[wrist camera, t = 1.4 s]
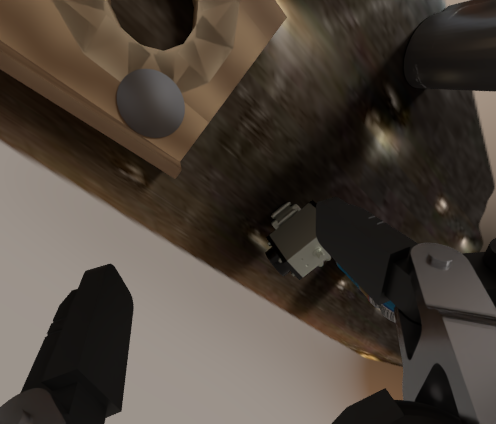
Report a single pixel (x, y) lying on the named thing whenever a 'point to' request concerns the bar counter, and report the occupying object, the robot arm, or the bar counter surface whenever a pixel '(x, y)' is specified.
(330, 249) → the robot arm
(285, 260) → the pneumatic valve
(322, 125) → the bar counter surface
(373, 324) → the bar counter surface
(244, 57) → the jig
